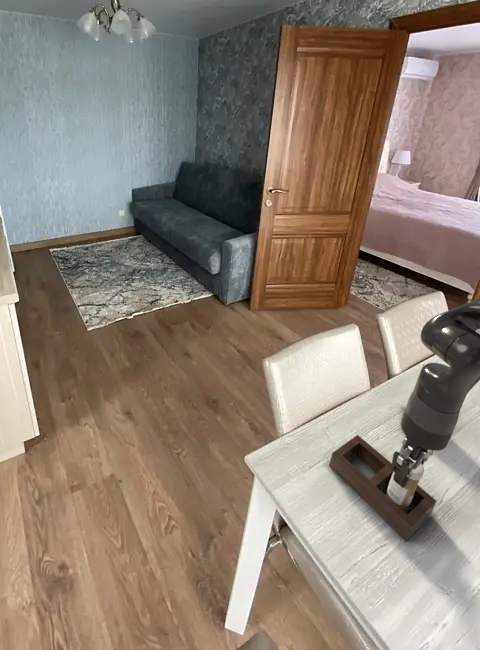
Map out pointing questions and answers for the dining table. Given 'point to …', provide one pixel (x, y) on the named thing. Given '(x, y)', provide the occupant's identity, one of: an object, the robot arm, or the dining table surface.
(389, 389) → the dining table surface
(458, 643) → the dining table surface
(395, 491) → the sprinkles bottle
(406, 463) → the robot arm
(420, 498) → the holder
